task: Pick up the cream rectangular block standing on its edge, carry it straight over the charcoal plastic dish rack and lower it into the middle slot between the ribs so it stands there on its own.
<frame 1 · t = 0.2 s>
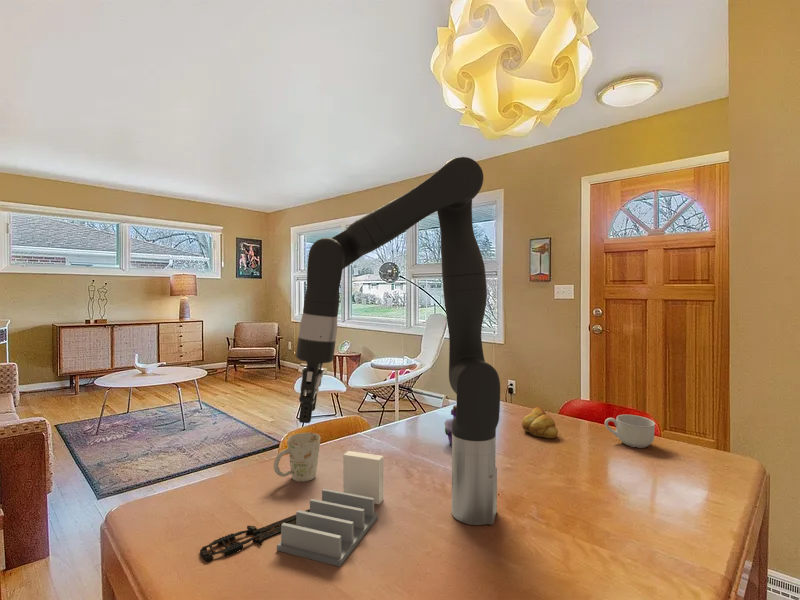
hand: (307, 415, 84), 22 cm above the table, tool pointing down, fingers open, 8 cm apart
bread roll: (539, 435, 139), on the table
potion bottle: (457, 444, 130), on the table
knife: (269, 533, 82), on the table, touching dish rack
cream rectangular block: (363, 498, 95), on the table
teacup: (629, 444, 131), on the table
mug: (296, 480, 105), on the table
dish rack: (330, 533, 81), on the table
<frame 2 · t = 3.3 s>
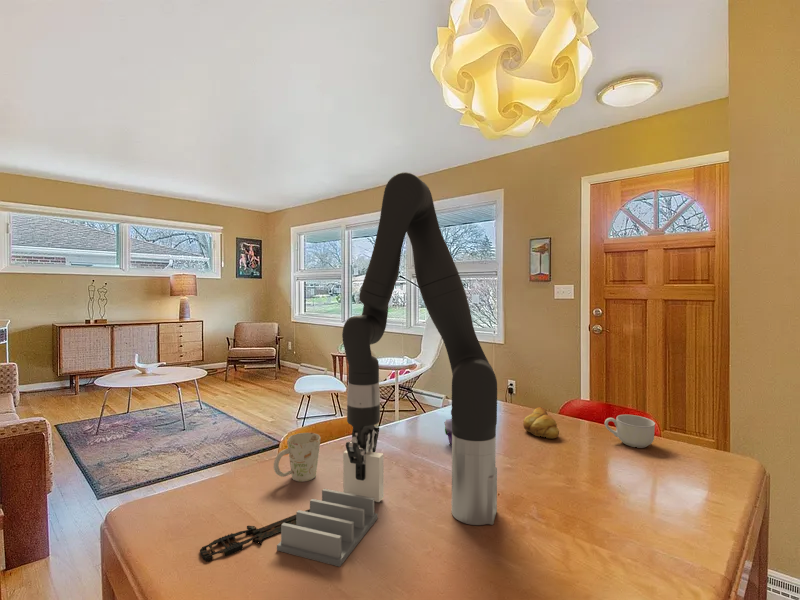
hand: (363, 476, 95), 5 cm above the table, tool pointing down, fingers closed on cream rectangular block, 2 cm apart
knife: (269, 533, 82), on the table
cream rectangular block: (363, 496, 95), on the table, touching gripper
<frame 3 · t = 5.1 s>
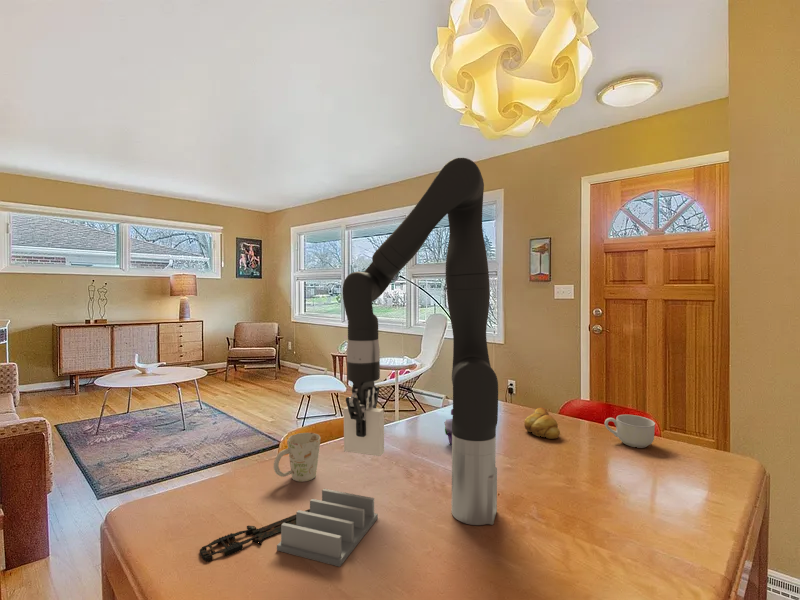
hand: (364, 433, 95), 15 cm above the table, tool pointing down, fingers closed on cream rectangular block, 2 cm apart
cream rectangular block: (364, 451, 95), point 11 cm above the table, touching gripper
everything else where it was.
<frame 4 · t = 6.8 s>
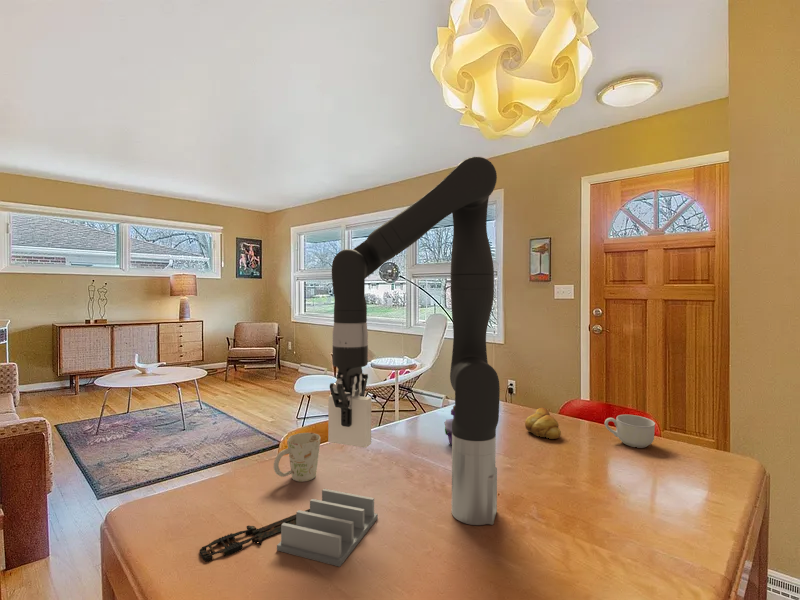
hand: (349, 423, 89), 19 cm above the table, tool pointing down, fingers closed on cream rectangular block, 2 cm apart
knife: (269, 533, 82), on the table, touching dish rack
cream rectangular block: (349, 443, 89), point 15 cm above the table, touching gripper
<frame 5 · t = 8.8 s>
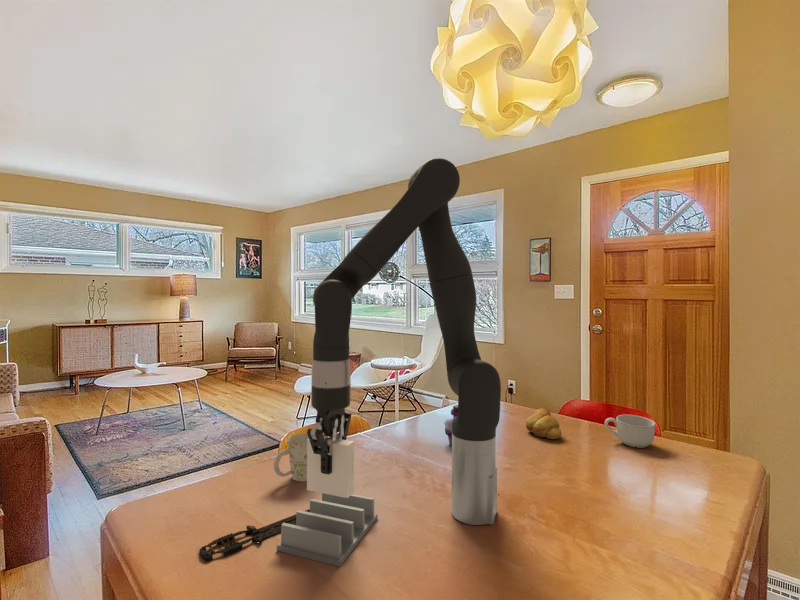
hand: (330, 469, 81), 13 cm above the table, tool pointing down, fingers closed on cream rectangular block, 2 cm apart
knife: (268, 533, 82), on the table
cream rectangular block: (330, 491, 81), point 8 cm above the table, touching gripper
when the fingers open (8 cm above the table, at t = 10.4 s): cream rectangular block drops 3 cm, resting on dish rack.
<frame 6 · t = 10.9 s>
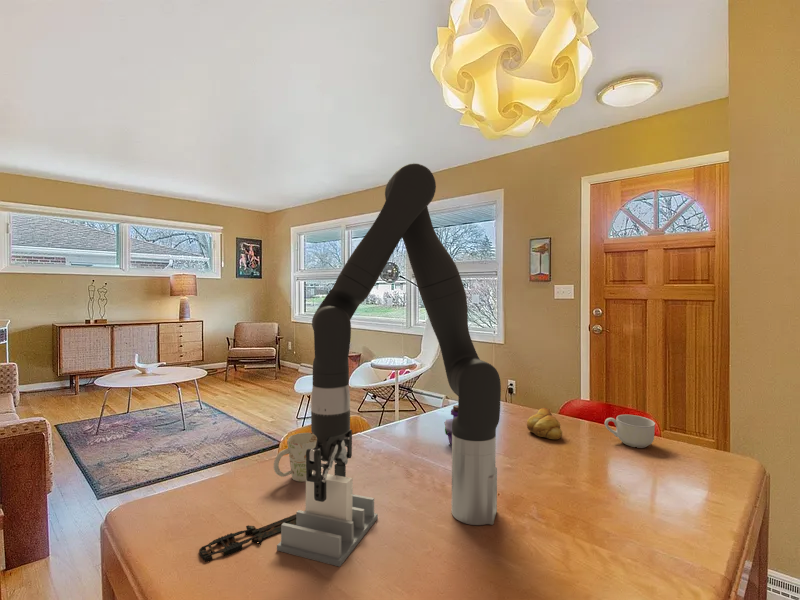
hand: (330, 491, 81), 8 cm above the table, tool pointing down, fingers open, 7 cm apart
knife: (268, 533, 82), on the table, touching dish rack
cream rectangular block: (328, 528, 81), point 1 cm above the table, touching dish rack
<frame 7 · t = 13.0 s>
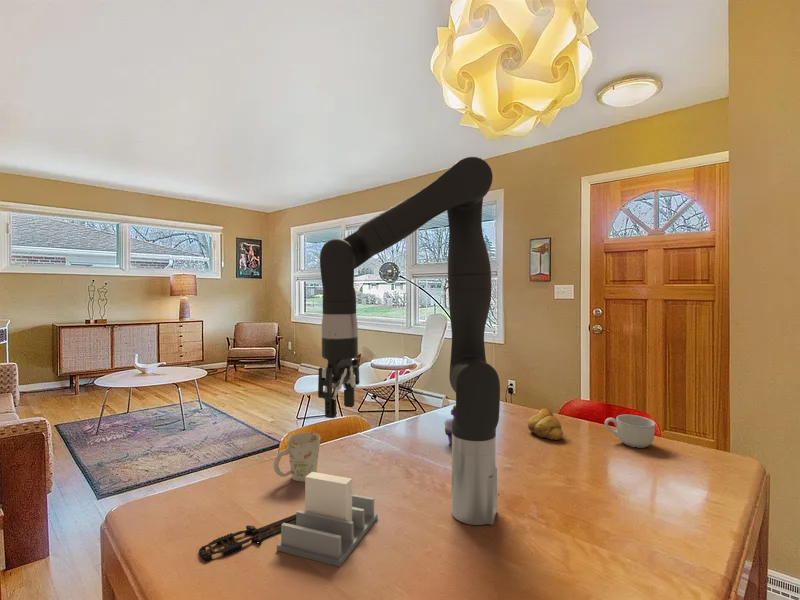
hand: (340, 411, 87), 22 cm above the table, tool pointing down, fingers open, 8 cm apart
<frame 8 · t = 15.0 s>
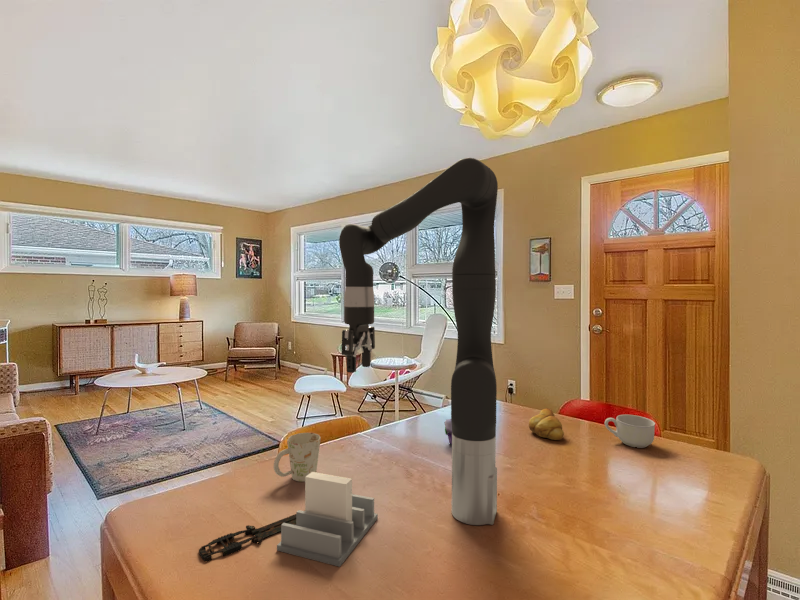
hand: (359, 369, 104), 28 cm above the table, tool pointing down, fingers open, 8 cm apart
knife: (268, 533, 82), on the table
at the end: cream rectangular block 0.4 cm off-centre on the dish rack, point 1.0 cm above the dish rack's base; cream rectangular block tilted 0°; the gripper is holding nothing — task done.
